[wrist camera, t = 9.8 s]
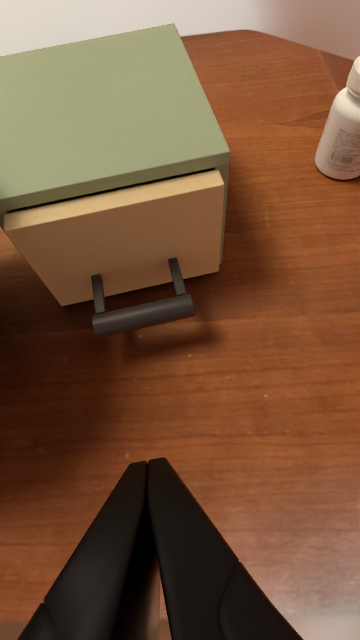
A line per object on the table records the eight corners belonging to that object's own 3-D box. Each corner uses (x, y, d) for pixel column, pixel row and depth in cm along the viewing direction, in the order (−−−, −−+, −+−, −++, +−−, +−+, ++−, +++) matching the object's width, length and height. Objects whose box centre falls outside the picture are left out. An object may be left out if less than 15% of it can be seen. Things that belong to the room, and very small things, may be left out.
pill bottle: (376, 174, 29) (430, 75, 22) (327, 186, 29) (367, 89, 22) (351, 142, 31) (393, 41, 24) (305, 153, 31) (335, 54, 24)
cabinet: (222, 264, 26) (230, 151, 17) (57, 300, 25) (-19, 203, 17) (182, 148, 32) (174, 22, 23) (48, 176, 31) (-10, 57, 23)
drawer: (236, 322, 23) (250, 247, 16) (65, 361, 22) (1, 302, 15) (181, 157, 30) (173, 56, 23) (52, 184, 30) (5, 89, 23)
